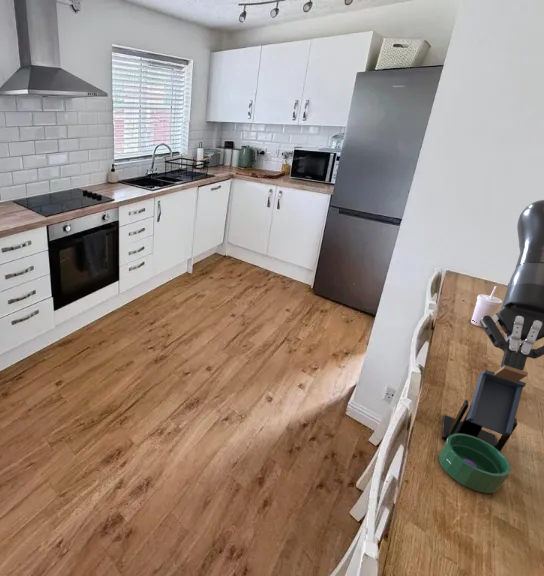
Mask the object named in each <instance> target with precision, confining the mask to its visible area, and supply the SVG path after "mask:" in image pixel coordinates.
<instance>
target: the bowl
mask: <svg viewBox="0 0 544 576" xmlns="http://www.w3.org/2000/svg"><path fill="white" fill-rule="evenodd" d="M463 459H468V460H470V461H472V462H473V463H474V464H475V465H476V466H477V468H476V467H474V466H472V465H470V464H469V463H467V462H466V461H464V460H463ZM438 461H439V463H440V466H441V467H442V469H443V470H444V471H445V472H446V473H447V474H448V475H449V476H450V477H451V478H452V479H453V480H454V481H456V482H458V483H459V484H461V485H462V486H465V487H467V488H469V489H471V490H473V491H476V492H480V493H484V494H493V493H496V492H498V491H499V490H500V488H501V487H502V485H503V484H504V482H505V481H506V479H507V478H508V476H509V475H510V474H511V471H512V466H511V463H510V461H509V460H508V458H507V457H506V456H505V455H504V454H503V453H502V452H501V451H499V450H497V449H496V448H495V447H493V446H492V445H490V444H489V443H487V442H485V441H483V440H481V439H479V438H476V437H474V436H471V435H467V434H458V433H456V434H452V435H450V436H449V437H448V438H447V440H446V442H445V441H444V444H443V446H442V447H441V449H440V451H439V452H438Z"/></svg>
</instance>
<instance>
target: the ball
mask: <svg viewBox="0 0 544 576" xmlns="http://www.w3.org/2000/svg"><path fill="white" fill-rule="evenodd" d="M463 460H464V461H466V462H467V463H469V464H470V465H472V466H474V467H476V468H477V466H476V465H475V464H474V463H473V462H472V461H470V460H468V459H463Z"/></svg>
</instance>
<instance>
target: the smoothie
mask: <svg viewBox="0 0 544 576" xmlns="http://www.w3.org/2000/svg"><path fill="white" fill-rule="evenodd" d="M497 288H498V285H494V288H493V290H492V292H491V294H490V295H489V294H484V293H483V294H482V293H481V294H478V295H477V297H476V303H475V306H474V310H473V313H472V317H471V321H470V324H472V325H474V326H477V327H480V328H481V327H482V325H481V324H480V320H481V319H482V318H483V317H484V316H487V315H488V316H494V315H495V313H496V311H497V310H498V308H499V307H500V306H502V305H503V300H502V299H501V298H498V297H496V296H494V295H495V292H496V290H497ZM472 320H474V321H475V322H474V321H472ZM476 322H477V323H476ZM482 328H483V327H482Z"/></svg>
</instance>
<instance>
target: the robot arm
mask: <svg viewBox="0 0 544 576" xmlns="http://www.w3.org/2000/svg"><path fill="white" fill-rule="evenodd" d="M516 229H517V236H518V237H517V238H518V248H519V256H518V259H517V262H516V266H515V268H514V271H513V272H512V275H511V277H510V279H509V282H508V283H507V289H506V293H505V296H504V299H503V301H502V305H501V308H500V310H499V311H497V313H496V314H493V315H492V316H488V315H487V316H484V317H483V318H482V319H481V320H480V324H481V325H482V329H483V331H484V332H485V334H486V335H487V337H488V339H489V340H490V342H491V343H492V346H494V348H497V349H500V350H502V351H503V356H502V359H501V362H500V368H502V367H503V366H504V365H506V366H509V367H512V368H515V369H519V370H522V371H524V370H525V366H526V362H527V358H531V359H538V358H540V357H542V356H544V345H542V346H540V347H537V348H533V346H534V344H535V343H536V342H537V341H539V340H541V339H543V338H544V199H540V200H537V201H534V202H532V203H530V204H529V205H527V206H526V207H525V208H524V209H523V210H522V211H521V213H520V214H519V217H518V220H517V227H516ZM498 325H499V326H500V328H501V330H502V331H503V333H504V334H505V337H504V335H503V333H502V332H501V330H500V328H499V327H498Z"/></svg>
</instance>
